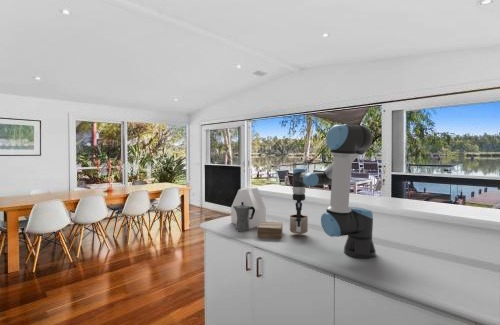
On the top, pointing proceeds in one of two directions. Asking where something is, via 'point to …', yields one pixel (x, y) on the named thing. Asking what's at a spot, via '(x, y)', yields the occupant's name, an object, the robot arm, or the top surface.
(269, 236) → the plinth
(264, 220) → the white slotted block
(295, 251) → the top surface
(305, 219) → the planter
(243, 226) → the coffeepot
